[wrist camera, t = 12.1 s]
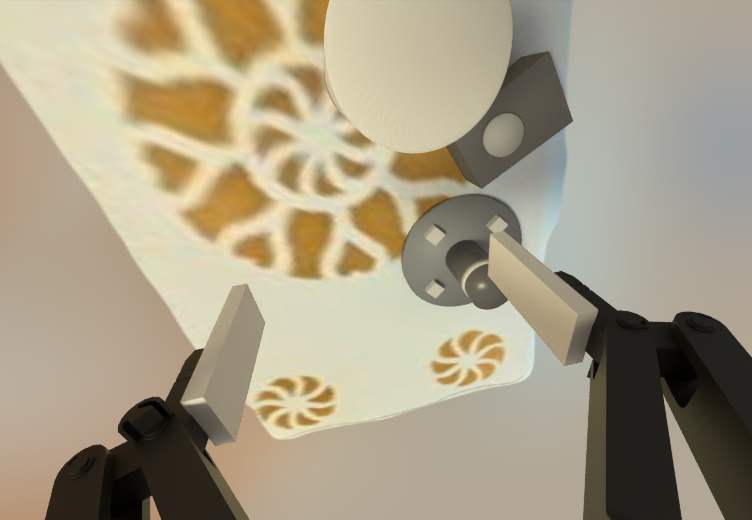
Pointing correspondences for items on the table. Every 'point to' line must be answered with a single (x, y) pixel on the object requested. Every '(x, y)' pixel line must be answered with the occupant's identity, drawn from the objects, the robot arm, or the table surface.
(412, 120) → the container
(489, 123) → the camera body block
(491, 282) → the grey rounded cylinder
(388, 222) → the table surface
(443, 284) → the plate
